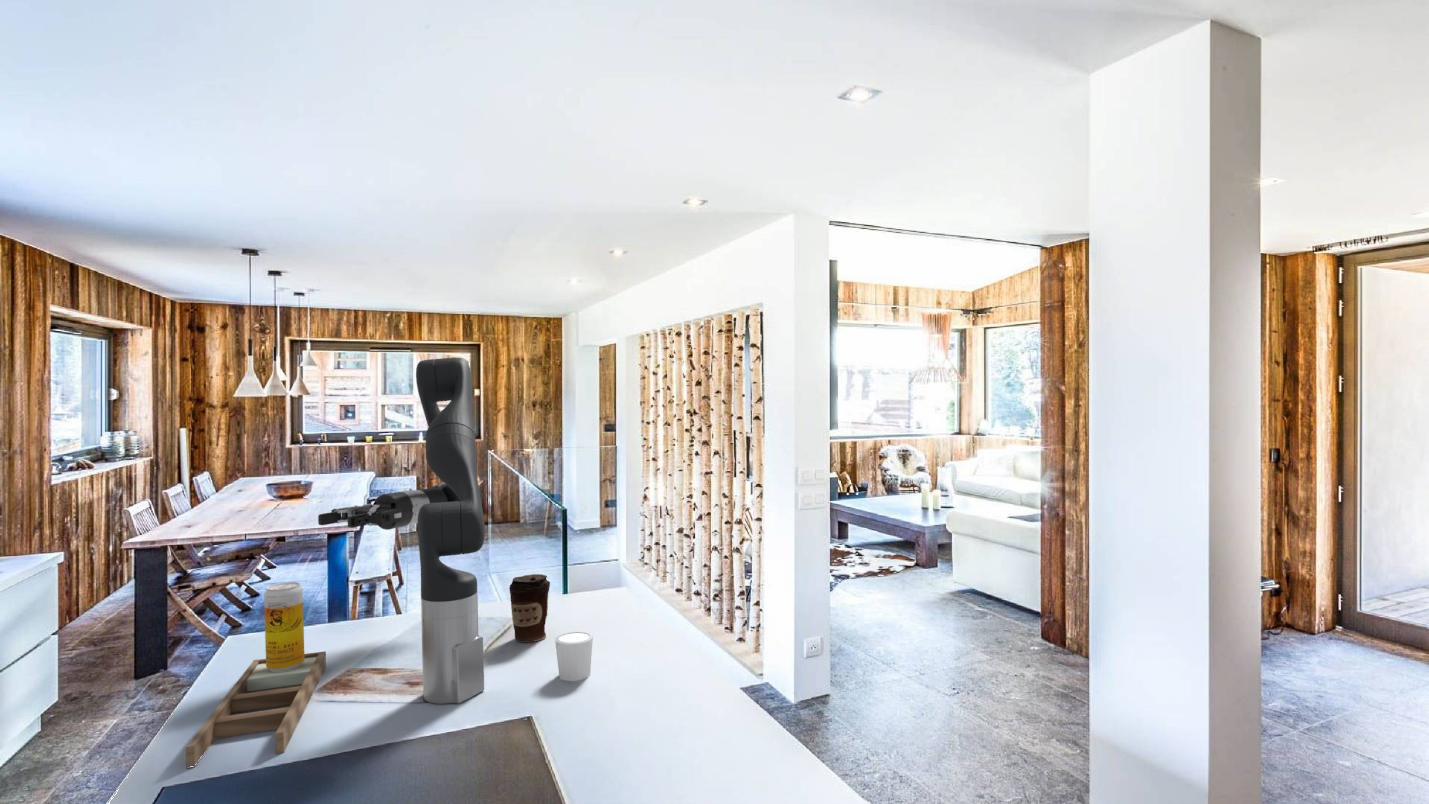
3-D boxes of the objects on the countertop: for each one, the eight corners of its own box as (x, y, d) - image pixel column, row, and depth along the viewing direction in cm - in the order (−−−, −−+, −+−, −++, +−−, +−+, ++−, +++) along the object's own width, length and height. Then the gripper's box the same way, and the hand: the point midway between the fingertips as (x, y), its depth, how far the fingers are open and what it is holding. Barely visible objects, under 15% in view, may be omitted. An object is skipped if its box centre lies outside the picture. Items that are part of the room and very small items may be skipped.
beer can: (260, 675, 129) (258, 591, 129) (273, 662, 135) (271, 583, 135) (298, 671, 130) (296, 588, 130) (309, 659, 136) (306, 580, 136)
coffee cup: (545, 645, 149) (543, 582, 149) (504, 645, 149) (503, 583, 149) (555, 631, 158) (553, 572, 157) (517, 632, 158) (515, 572, 158)
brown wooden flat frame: (254, 676, 135) (253, 660, 135) (326, 666, 139) (325, 651, 139) (186, 768, 101) (185, 747, 101) (283, 752, 105) (283, 732, 105)
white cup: (589, 682, 129) (589, 643, 129) (551, 682, 129) (550, 643, 129) (597, 667, 136) (596, 630, 136) (560, 668, 136) (559, 631, 136)
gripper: (378, 490, 158) (309, 500, 144) (425, 492, 152) (358, 503, 138) (379, 524, 158) (310, 538, 144) (426, 528, 152) (359, 542, 138)
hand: (334, 521), depth 141 cm, fingers open, 8 cm apart
